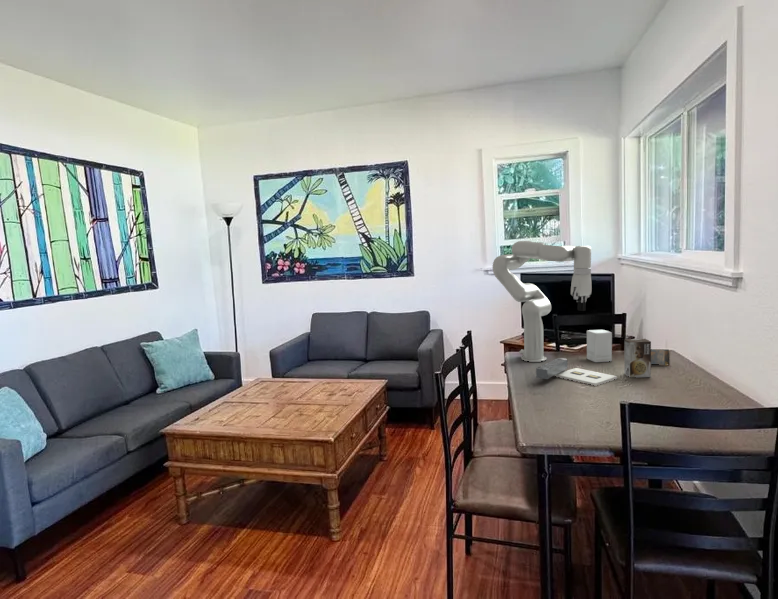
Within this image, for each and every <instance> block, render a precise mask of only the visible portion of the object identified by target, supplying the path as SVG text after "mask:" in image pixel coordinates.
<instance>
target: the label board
mask: <svg viewBox="0 0 778 599" xmlns="http://www.w3.org/2000/svg"><path fill="white" fill-rule="evenodd" d="M555 376H556V377H555ZM554 377H555V378H558V377H560V378H559V379H563V378H564V380H567V379H569V380H568V381H571V380H573V382H576V381H578V382H577V383H580V382H583V383H582V384H584V383H587V384H586V385H588V384H591V385H590V386H593V385H594V386H593V387H597V385H598V386H600V384H601V385H604V384H607V383H609V381H610V382H612V381H615V380H617V379H618V375H613V374H608V373H603V372H597V371H593V370H589V369H583V368H580V367H575V368H571V369H568V370H567V369H565V370H563V371H561V372H560V373H558V374H556V375H554ZM614 379H615V380H614ZM606 382H607V383H606ZM603 383H604V384H603Z"/></svg>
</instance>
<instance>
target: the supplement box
mask: <svg viewBox="0 0 778 599" xmlns="http://www.w3.org/2000/svg"><path fill="white" fill-rule="evenodd" d="M612 349H613V332H611V331H609V330H605V329H589V330H588V329H587V330H586V359H587V360H589V361H592V362H593V363H605V362H608V363H609V361H610V362H612V359H613V354H612V353H613V350H612Z"/></svg>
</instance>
